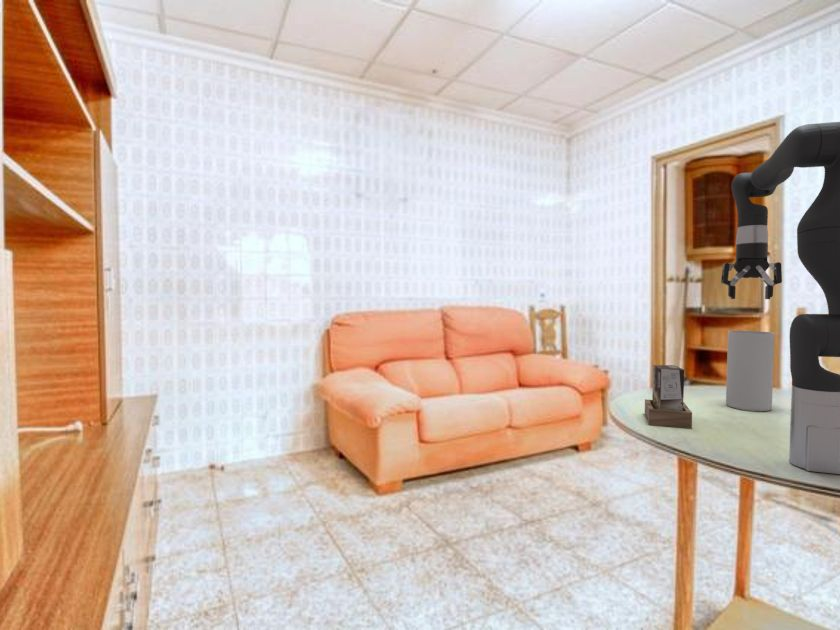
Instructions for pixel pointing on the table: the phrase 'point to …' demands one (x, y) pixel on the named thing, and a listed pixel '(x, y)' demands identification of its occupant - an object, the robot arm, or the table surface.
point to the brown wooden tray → (668, 416)
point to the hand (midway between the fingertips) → (750, 299)
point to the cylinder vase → (750, 370)
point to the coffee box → (668, 387)
